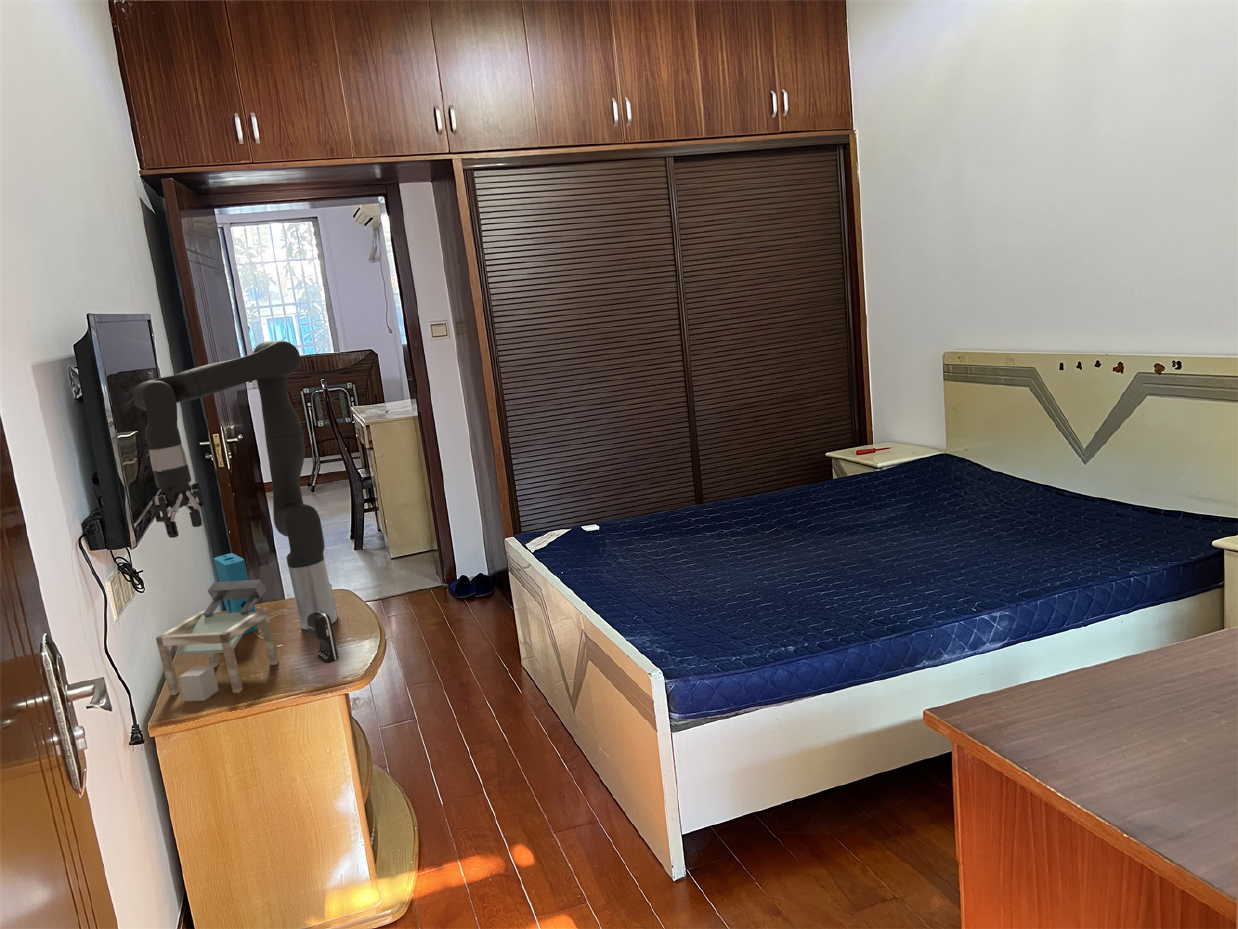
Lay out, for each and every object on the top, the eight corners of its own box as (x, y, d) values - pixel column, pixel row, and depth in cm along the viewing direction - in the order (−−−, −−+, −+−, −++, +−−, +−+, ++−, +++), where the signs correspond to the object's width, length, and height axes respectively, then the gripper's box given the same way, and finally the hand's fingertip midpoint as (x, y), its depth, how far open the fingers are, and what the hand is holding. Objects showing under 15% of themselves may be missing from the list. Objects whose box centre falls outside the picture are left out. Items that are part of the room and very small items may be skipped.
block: (261, 630, 243) (245, 559, 239) (242, 637, 240) (225, 565, 236) (247, 621, 252) (231, 552, 248) (229, 627, 249) (212, 558, 245)
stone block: (179, 676, 201) (185, 701, 202) (198, 675, 200) (204, 700, 201) (193, 666, 206) (199, 691, 207) (212, 665, 205) (218, 690, 206)
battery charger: (313, 658, 217) (303, 613, 215) (328, 652, 220) (319, 608, 217) (324, 665, 212) (314, 619, 210) (339, 659, 214) (330, 614, 212)
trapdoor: (219, 595, 223) (211, 582, 221) (269, 592, 220) (262, 579, 218) (178, 654, 208) (169, 641, 205) (231, 652, 205) (222, 638, 202)
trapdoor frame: (214, 664, 222) (201, 611, 219) (278, 662, 218) (266, 607, 215) (170, 695, 207) (155, 638, 204) (239, 692, 203) (225, 634, 200)
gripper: (176, 460, 220) (191, 524, 223) (134, 474, 206) (151, 542, 209) (203, 457, 218) (218, 522, 221) (163, 471, 204) (179, 539, 208)
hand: (185, 531), depth 215 cm, fingers open, 8 cm apart
